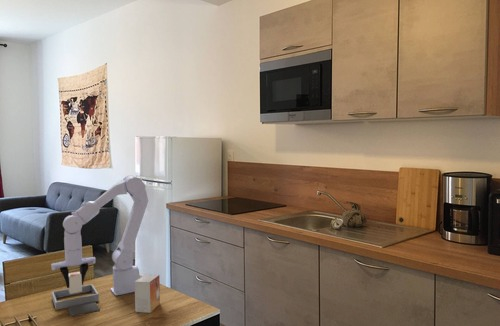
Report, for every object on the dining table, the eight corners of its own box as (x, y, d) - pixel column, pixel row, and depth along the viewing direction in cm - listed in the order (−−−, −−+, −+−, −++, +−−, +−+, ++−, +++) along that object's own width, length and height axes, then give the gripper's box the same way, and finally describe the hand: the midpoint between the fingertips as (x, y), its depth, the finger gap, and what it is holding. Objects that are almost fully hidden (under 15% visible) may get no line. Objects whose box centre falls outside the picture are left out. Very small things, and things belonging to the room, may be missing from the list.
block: (79, 287, 149) (79, 271, 149) (82, 291, 145) (81, 274, 144) (68, 289, 147) (67, 273, 147) (70, 294, 143) (69, 276, 142)
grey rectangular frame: (92, 290, 155) (92, 284, 155) (98, 300, 145) (98, 293, 144) (52, 298, 147) (51, 291, 147) (55, 309, 137) (55, 302, 137)
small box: (150, 313, 133) (149, 282, 133) (135, 312, 134) (134, 281, 134) (160, 303, 141) (159, 274, 141) (145, 302, 142) (145, 273, 142)
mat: (94, 302, 143) (94, 301, 143) (99, 310, 136) (99, 309, 136) (67, 308, 138) (67, 307, 138) (70, 316, 131) (70, 315, 131)
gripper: (92, 243, 152) (93, 278, 153) (49, 249, 145) (51, 286, 145) (96, 247, 146) (97, 284, 147) (51, 254, 139) (53, 292, 139)
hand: (74, 285), depth 146 cm, fingers closed on block, 4 cm apart
